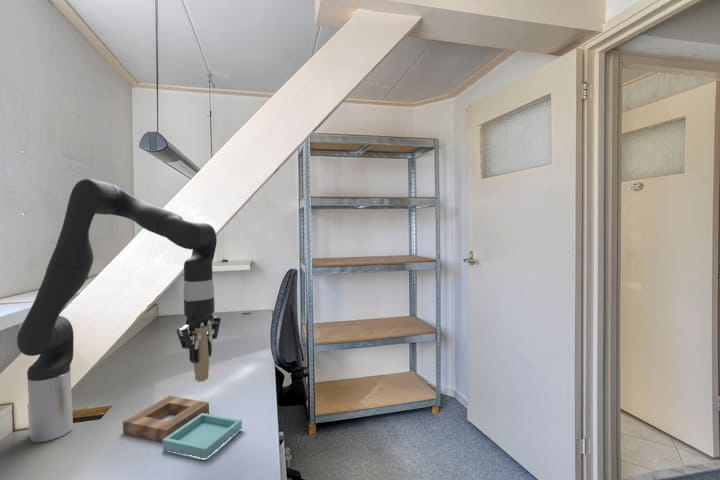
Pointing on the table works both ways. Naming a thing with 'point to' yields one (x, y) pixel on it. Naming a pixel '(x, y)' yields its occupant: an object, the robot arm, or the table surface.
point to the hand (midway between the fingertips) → (201, 359)
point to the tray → (202, 435)
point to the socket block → (149, 418)
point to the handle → (202, 355)
